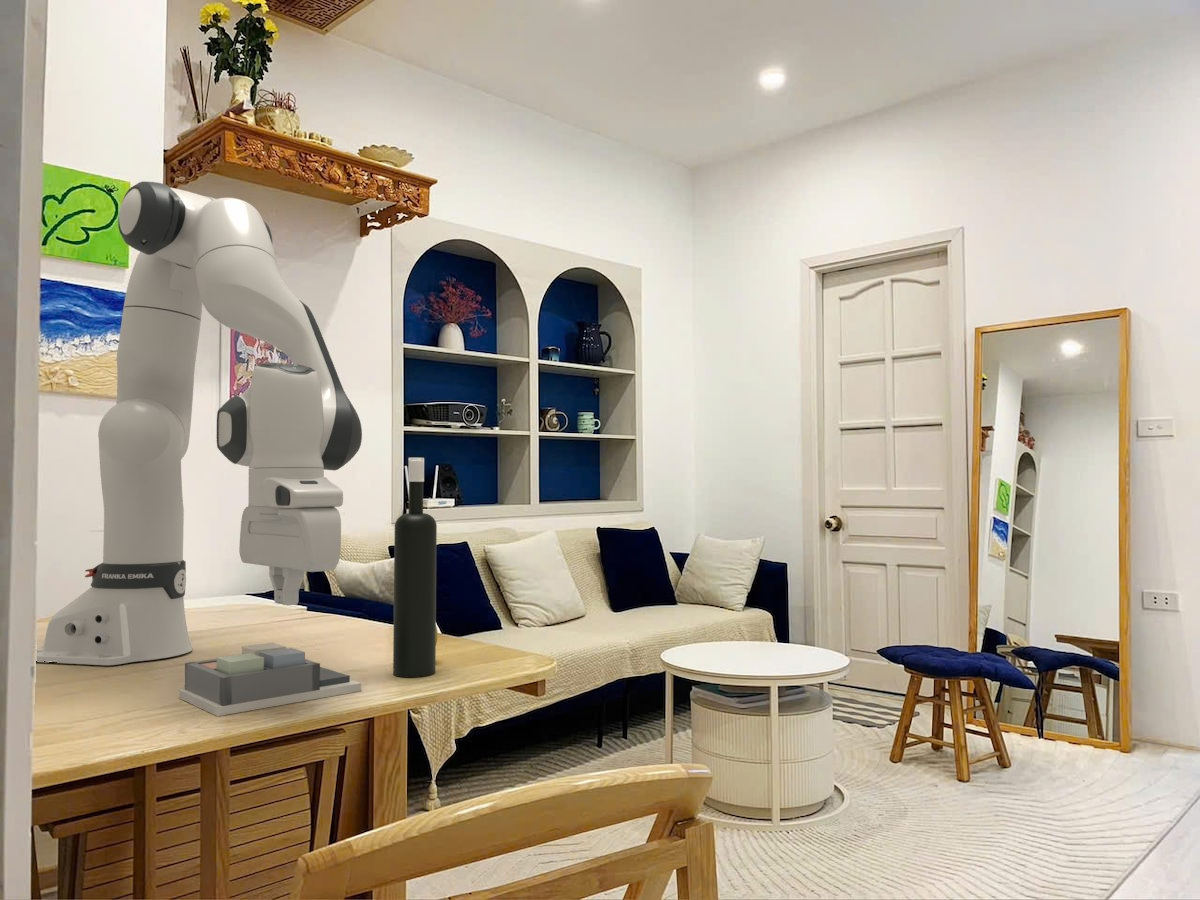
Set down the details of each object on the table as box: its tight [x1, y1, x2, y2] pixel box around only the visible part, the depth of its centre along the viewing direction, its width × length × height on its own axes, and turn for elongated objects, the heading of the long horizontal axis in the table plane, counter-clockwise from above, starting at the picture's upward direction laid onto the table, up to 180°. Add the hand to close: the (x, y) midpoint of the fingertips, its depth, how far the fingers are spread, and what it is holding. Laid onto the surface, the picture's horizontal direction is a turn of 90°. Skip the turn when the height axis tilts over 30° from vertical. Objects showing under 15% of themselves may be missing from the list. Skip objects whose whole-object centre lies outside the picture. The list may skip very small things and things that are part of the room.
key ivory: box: [241, 642, 287, 656], centre depth 114 cm, size 4×4×2 cm
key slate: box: [259, 647, 306, 669], centre depth 111 cm, size 4×4×2 cm
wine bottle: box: [392, 457, 438, 678], centre depth 126 cm, size 6×6×30 cm
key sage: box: [216, 653, 264, 675], centre depth 107 cm, size 4×4×2 cm
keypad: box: [178, 658, 362, 717], centre depth 112 cm, size 18×12×4 cm, turn 134°
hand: (286, 604), depth 111 cm, fingers closed
